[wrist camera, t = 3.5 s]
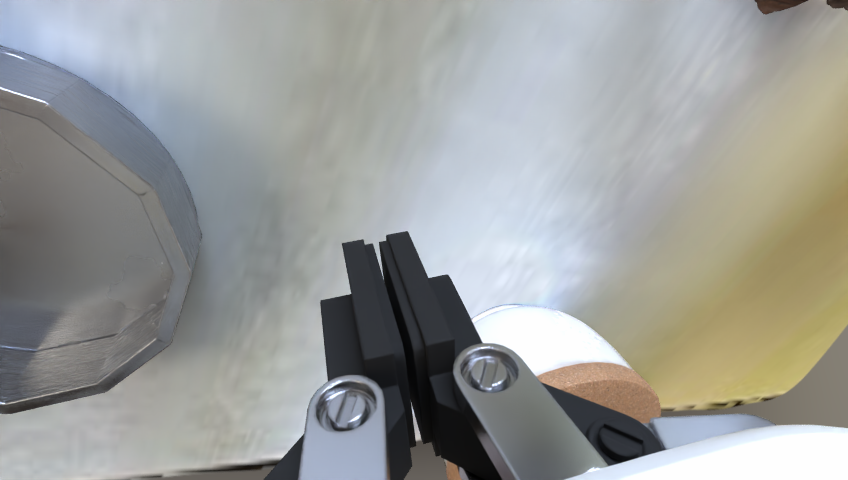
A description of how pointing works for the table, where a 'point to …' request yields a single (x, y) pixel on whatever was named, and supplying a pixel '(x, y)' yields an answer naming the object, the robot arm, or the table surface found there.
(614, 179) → the table surface
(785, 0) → the brown curved open frame
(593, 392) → the trinket box
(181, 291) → the frying pan
